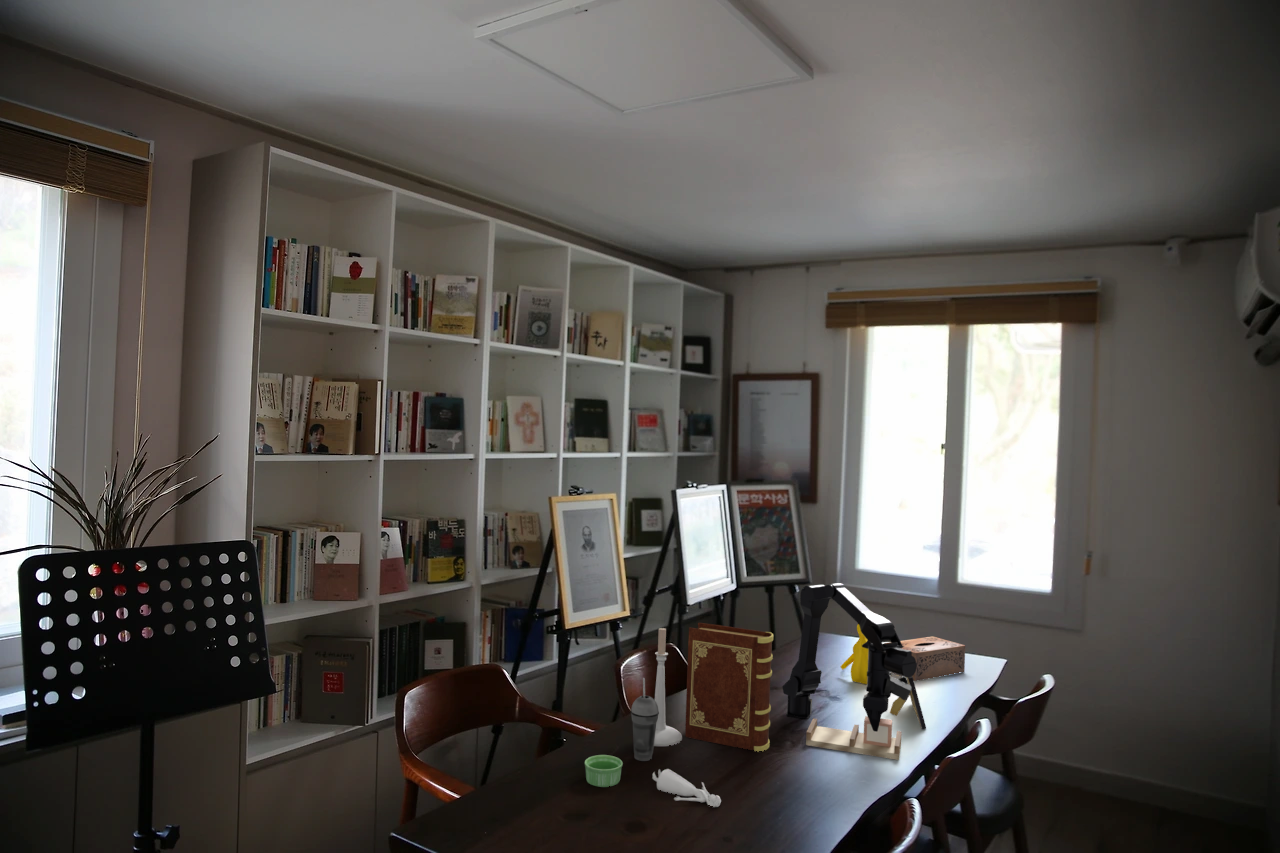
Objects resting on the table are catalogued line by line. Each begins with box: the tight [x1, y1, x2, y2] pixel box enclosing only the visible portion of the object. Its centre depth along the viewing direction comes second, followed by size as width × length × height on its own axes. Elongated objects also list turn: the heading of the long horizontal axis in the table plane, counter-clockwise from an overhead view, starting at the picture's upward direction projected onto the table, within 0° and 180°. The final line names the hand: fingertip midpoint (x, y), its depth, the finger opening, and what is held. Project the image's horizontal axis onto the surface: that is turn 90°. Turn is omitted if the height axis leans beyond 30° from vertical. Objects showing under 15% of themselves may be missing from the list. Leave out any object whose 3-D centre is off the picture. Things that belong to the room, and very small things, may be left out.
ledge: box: [805, 718, 903, 761], centre depth 228 cm, size 24×12×4 cm, turn 70°
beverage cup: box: [630, 677, 659, 762], centre depth 214 cm, size 7×7×20 cm
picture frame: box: [889, 677, 927, 731], centre depth 254 cm, size 23×9×15 cm, turn 168°
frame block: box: [863, 715, 893, 747], centre depth 226 cm, size 7×4×6 cm, turn 70°
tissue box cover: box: [883, 636, 966, 682], centre depth 303 cm, size 26×14×10 cm, turn 121°
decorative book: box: [684, 622, 774, 753], centre depth 228 cm, size 22×8×30 cm, turn 65°
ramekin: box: [584, 754, 624, 788], centre depth 199 cm, size 9×9×4 cm
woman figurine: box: [651, 768, 722, 808], centre depth 192 cm, size 12×4×18 cm
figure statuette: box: [839, 623, 868, 685], centre depth 286 cm, size 18×8×22 cm, turn 57°
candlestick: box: [654, 627, 683, 747], centre depth 228 cm, size 13×13×30 cm
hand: (876, 725), depth 226 cm, fingers open, 9 cm apart
